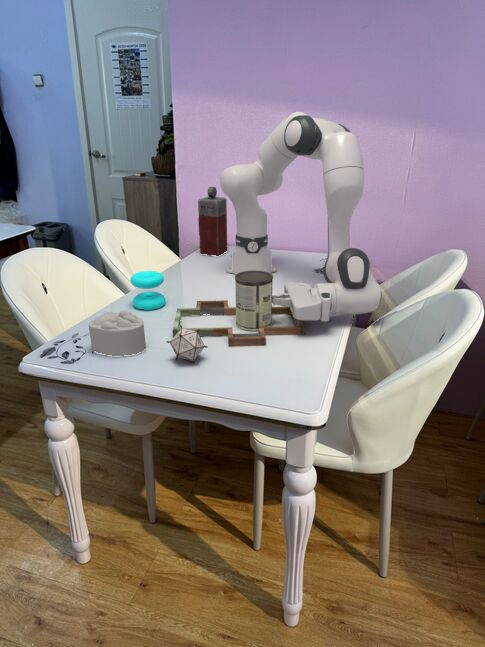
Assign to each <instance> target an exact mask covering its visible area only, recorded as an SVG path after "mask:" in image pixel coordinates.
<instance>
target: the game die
mask: <svg viewBox="0 0 485 647" xmlns="http://www.w3.org/2000/svg"><path fill="white" fill-rule="evenodd" d="M180 328H181V329H180ZM179 329H180V330H179V332H178V333H177V334H176V335H175V336H174V337H173V336H172V339H171V340H170V341H169V340H167V341H165V342H166V343H167V344H170V346H171V348H172V350H173V352H174V353H175V358H174V359H176V360H178V359H182V360H187V361H190V362H192V365H193V364H194V365H195V364H196V362H195V360H196V358H197V357H198V356H199V355H200V353H201V352H202V351H203V350H204V348H205V349H207V348H209V346H208V345H205V344H204V341H203V339H202V338H201V337H200V335H199V333H198V331H200V329H198V330H197V331H194V330H189V329H184V327H183V325H181V324H180V327H179Z"/></svg>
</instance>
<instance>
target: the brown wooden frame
mask: <svg viewBox="0 0 485 647" xmlns="http://www.w3.org/2000/svg"><path fill="white" fill-rule="evenodd" d="M200 313H201V314H202V315H203V314H206V315H207V314H210V315H213V316H224V315H226V316H236V306H235V307H229V301H228V300H225V299H224V300H222V299H221V300H197V301H196V306H195V307H194V308H193V307H192V308H191V307H189V308H188V307H186V308H176V313H175V317H174V322H173V326H172V338H173V337H174V336H175V335H176V334H177V333H178V332H179V330H180V329H181V328H180V327H179V326H180V325H181V321H180V320H182V317H192V316H191V315H200V316H201V314H200ZM274 315H292V318H293V320H294V323H295V325H284V326H283V325H281V326H279V325H277V326H272V325H271V326H270V327H259V331H258V332H255V333H254V332H253V333H252V332H251V333H250V332H249V333H248V332H247V333H246V332H245V333H234V331H233V327H232V326H231V327H228V326H227V327H226V326H225V327H192V328H187V327H185V328H184V327H183V328H184V329H189V330H194V331H197V330H198V329H200V331H198V333H199V335H200V336H214V337H227V340H228V344H229V345H228V347H250V346H251V347H252V346H253V347H254V346H255V347H257V346H262V347H263V346H266V344H267V343H266V342H267V338H266V336H284V335H285V336H292V335H293V336H295V335H296V336H298V335H305V330H306V329H305V328H306V326H305V324H304V322H303V320H298V319H295V318H294V316H293V314H292V312H291V309H290V307H284V306H272V316H274Z"/></svg>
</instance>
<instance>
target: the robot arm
mask: <svg viewBox="0 0 485 647" xmlns="http://www.w3.org/2000/svg"><path fill="white" fill-rule="evenodd" d="M357 137H358V136H356V135H355V134H354V133H352V132H351V130H350V129H349V128H347V127H346V126H345V125H343V124H340V123H336V122H334V121H332V120H330V119H329V120H328V119H327V118H319V117H314V116H310V115H308V114H307V113H305V112H303V111H295V112H292V113H291V114H289V115H288V116H287V117H285V119H283V121H281V122H280V123H279V124H278V125H277V126H276V127H275V128H274V129H273V130H272V132H271V133H270V134H269V135H268V136H267V138H266V139H265V140H264V141H263V142H262V143H261V145H260V146H259V148H258V153H257V154H258V159H257V160H256V161H254V162H250V163H241V164H240V163H239V164H234V165H231V166H229V167H227V168H225V169H223V170H222V172H221V173H220V177H219V180H220V181H219V185H220V189H221V191H222V192H223V194H224V195H225V196H226V197H228V198H229V200H230V201H231V203H232V205H233V208H234V211H235V212H234V213H235V216H236V217H235V218H236V219H235V220H236V234H235V238H234V239H235V240H234V241H235V247H234V248H233V250H232V251H231V252H230V258H231V260H230V263H229V265H228V267H227V268H226V273H228V274H233V275H236V274H238V273H240V272H244V271H265V272H268V273H270V274H273V273H275V272H277V268H276V267H275V266H274V265H273V260H272V259H273V256H272V255H273V254H272V252H273V251H272V249H271V248H270V247H269V246H268V244H269V237H268V236H269V234H268V231H267V230H268V214H267V212H266V211H265V210H264V208H262V207H261V206H260V204H259V200H258V196H263V195H269V194H272V193H274V192H275V191H278V190H279V189H280V188H281V186H282V184H283V180H284V177H283V176H284V175H283V173H284V172H285V171H286V169H287V168H288V167H289V166H290V165H291V164H292V163H293V162H294V161H295V160H296V159H297V158H298V157H299V156H303V157H305V158H307V159H311V160H318V161H319V160H320V161H321V163H322V178H323V187H324V188H323V190H324V196H325V203H326V204H325V206H326V214H327V240H328V241H327V243H328V244H327V245H328V246H327V249H328V250H327V256H326V261H325V263H324V265H323V272H322V273H323V278H324V281H326V282H320V283H319V282H318V283H317V282H316V283H314V285H313V286H311V284H309V283H307V282H293V281H291V282H289V281H288V282H286V283H284V285H283V293H280V294H278V295H277V294H275V295H273V294H272V306H279V307H283V306H284V307H290V309H291V312H292V314H293V316H294V318H295V319H298V320H302V321H319V320H320V321H321V322H329V321H330V316H334V315H339V314H345V315H362V314H369V313H372V312H374V311H375V310H377V308H378V307H379V306H380V303H381V300H382V295H383V294H382V287H381V285H380V284H379V283H378V281H377V280H376V279H375V277H374V275H373V272H372V269H371V266H370V265H371V264H370V263H371V262H370V260H369V257H368V255H367V254H366V253H365V252H364V251H363V250H362V249H359V248H355V247H351V242H350V241H351V236H350V235H351V233H350V230H351V229H350V228H351V227H350V226H351V220H352V217H353V214H354V211H355V209H356V208H357V206H358V204H359V202H360V201H361V199H362V197H363V194H364V186H365V172H364V171H365V170H364V168H365V167H364V160H363V155H362V150H361V145H360V142H359V139H358V138H357ZM292 314H291V315H292ZM293 316H292V317H293ZM294 318H293V319H294Z"/></svg>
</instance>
